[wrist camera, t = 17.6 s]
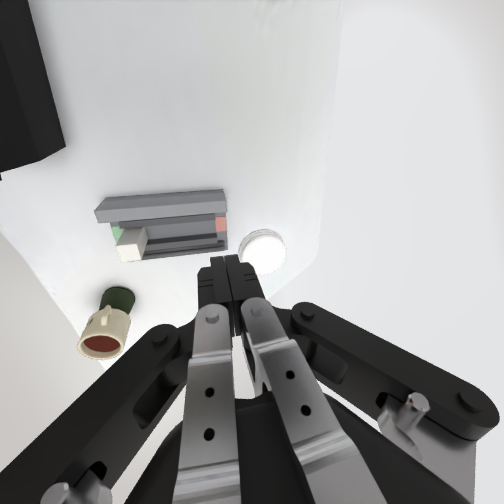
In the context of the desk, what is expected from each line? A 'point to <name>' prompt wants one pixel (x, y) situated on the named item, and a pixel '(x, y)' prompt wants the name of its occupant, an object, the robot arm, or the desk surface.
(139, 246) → the handle
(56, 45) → the desk surface
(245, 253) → the white round disc
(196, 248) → the grey slider panel
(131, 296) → the character mug
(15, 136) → the uninterruptible power supply
